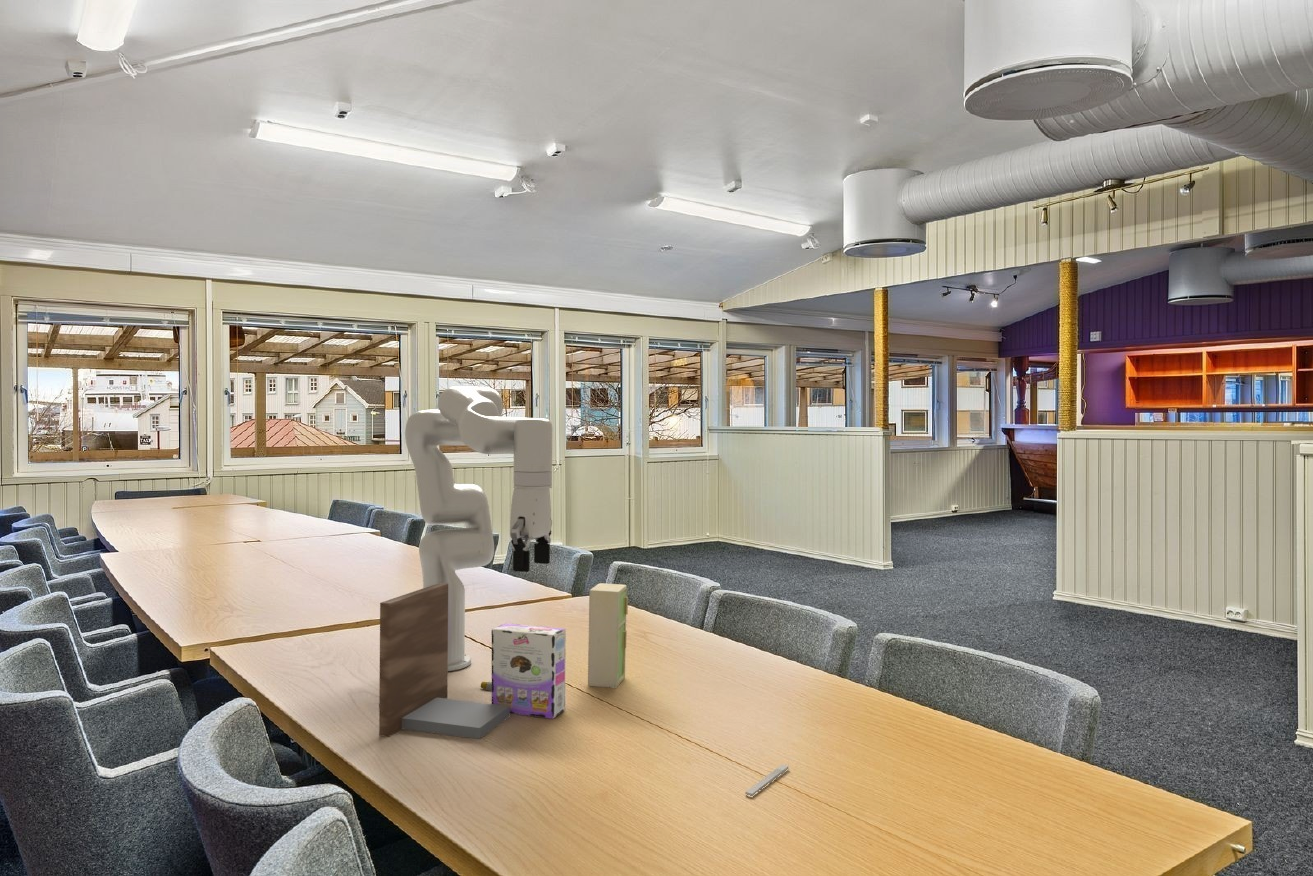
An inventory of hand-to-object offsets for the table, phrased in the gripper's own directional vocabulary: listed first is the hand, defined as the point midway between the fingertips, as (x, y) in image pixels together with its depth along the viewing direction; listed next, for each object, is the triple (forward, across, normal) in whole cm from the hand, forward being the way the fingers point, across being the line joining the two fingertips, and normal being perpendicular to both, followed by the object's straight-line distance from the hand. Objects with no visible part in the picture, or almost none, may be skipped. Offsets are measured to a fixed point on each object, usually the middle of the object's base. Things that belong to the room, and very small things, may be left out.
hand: (531, 567), depth 159 cm
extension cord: (+29, -12, -7) cm, 32 cm away
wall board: (+28, +10, -19) cm, 36 cm away
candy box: (+29, 0, 0) cm, 29 cm away
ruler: (+29, +19, +49) cm, 60 cm away
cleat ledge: (+28, +10, -10) cm, 32 cm away
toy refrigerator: (+29, -22, +9) cm, 37 cm away
